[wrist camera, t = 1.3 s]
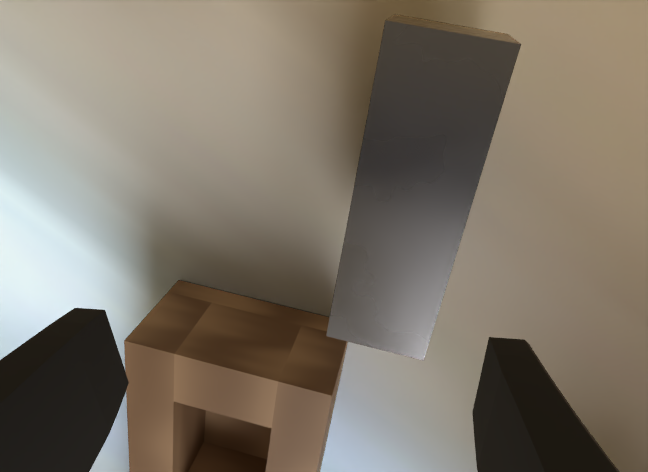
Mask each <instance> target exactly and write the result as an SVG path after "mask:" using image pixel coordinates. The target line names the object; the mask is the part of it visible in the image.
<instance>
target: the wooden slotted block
mask: <svg viewBox="0 0 648 472" xmlns="http://www.w3.org/2000/svg"><path fill="white" fill-rule="evenodd" d="M329 318H330V317H326V316H322V315H318V314H314V313H310V312H306V311H302V310H298V309H294V308H290V307H285V306H281V305H277V304H273V303H269V302H265V301H261V300H257V299H253V298H249V297H245V296H241V295H237V294H233V293H229V292H225V291H221V290H217V289H213V288H209V287H205V286H201V285H197V284H193V283H188V282H184V281H180V280H178V281H177V283H176V284H175V285H174V286H173V287H172V288H171V289H170V290H169V291H168V293H167V294H166V295H165V296H164V297H163V298H162V299H161V300H160V301H159V303H158V304H157V305H156V306H155V307H154V308H153V309H152V310H151V312H150V313H149V314H148V315H147V316H146V317H145V318H144V319H143V320H142V322H141V323H140V324H139V325H138V326H137V327H136V328H135V329H134V330H133V332H132V333H131V334H130V335H129V336H128V337H127V338H126V339H125V340H124V345H125V370H126V376H127V379H128V382H129V384H128V386H127V389H126V394H127V418H128V442H129V467H130V472H320V469H321V465H322V460H323V455H324V451H325V446H326V441H327V437H328V432H329V427H330V423H331V418H332V413H333V408H334V404H335V399H336V394H337V390H338V385H339V380H340V376H341V371H342V366H343V362H344V357H345V352H346V348H347V343H348V341H344V340H340V339H336V338H332V337H328V336H326V334H327V329H328V323H329Z"/></svg>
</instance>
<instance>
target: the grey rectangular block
mask: <svg viewBox="0 0 648 472" xmlns="http://www.w3.org/2000/svg"><path fill="white" fill-rule="evenodd" d="M520 46H521V44H520V43H519V42H517V41H516V40H515V39H514V38H512V37H511V36H510V35H508V34H505V33H499V32H493V31H487V30H482V29H476V28H470V27H465V26H459V25H453V24H447V23H442V22H436V21H430V20H425V19H419V18H413V17H407V16H402V15H396V14H395V15H393V16H391V17H390V18H388V19H387V20H385V25H384V31H383V36H382V41H381V47H380V52H379V57H378V62H377V68H376V73H375V78H374V84H373V89H372V94H371V100H370V105H369V110H368V116H367V121H366V126H365V132H364V137H363V142H362V148H361V153H360V158H359V164H358V169H357V174H356V180H355V185H354V190H353V196H352V201H351V206H350V212H349V217H348V222H347V228H346V233H345V238H344V244H343V249H342V254H341V260H340V265H339V270H338V276H337V281H336V286H335V292H334V297H333V302H332V307H331V313H330V318H329V323H328V329H327V334H326V336H328V337H332V338H336V339H340V340H344V341H348V342H352V343H356V344H360V345H364V346H368V347H372V348H376V349H380V350H384V351H388V352H392V353H395V354H399V355H403V356H407V357H411V358H415V359H419V360H423V361H424V358H425V355H426V352H427V348H428V345H429V342H430V339H431V335H432V332H433V329H434V326H435V322H436V319H437V316H438V313H439V309H440V306H441V303H442V300H443V296H444V293H445V290H446V287H447V283H448V280H449V277H450V274H451V270H452V267H453V264H454V261H455V257H456V254H457V251H458V248H459V244H460V241H461V238H462V235H463V231H464V228H465V225H466V222H467V218H468V215H469V212H470V209H471V205H472V202H473V199H474V196H475V192H476V189H477V186H478V183H479V179H480V176H481V173H482V169H483V166H484V163H485V160H486V156H487V153H488V150H489V147H490V143H491V140H492V137H493V134H494V130H495V127H496V124H497V121H498V117H499V114H500V111H501V108H502V104H503V101H504V98H505V95H506V91H507V88H508V85H509V82H510V78H511V75H512V72H513V69H514V65H515V62H516V59H517V56H518V52H519V49H520Z"/></svg>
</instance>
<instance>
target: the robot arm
mask: <svg viewBox="0 0 648 472" xmlns="http://www.w3.org/2000/svg"><path fill="white" fill-rule="evenodd" d="M128 384H129V382H128V379H127V376H126V373H125V369H124V366H123V363H122V360H121V357H120V354H119V351H118V348H117V345H116V342H115V339H114V336H113V333H112V330H111V327H110V324H109V321H108V318H107V315H106V312H105V310H97V309H83V308H74V309H73V310H71V311H70V312H68V313H67V314H65V315H64V316H62V317H61V318H59V319H58V320H56V321H55V322H53V323H52V324H50V325H49V326H48V327H46V328H45V329H43V330H42V331H41V332H39V333H38V334H36V335H35V336H33V337H32V338H31V339H29V340H28V341H26V342H25V343H24V344H22V345H21V346H19V347H18V348H17V349H15V350H14V351H12V352H11V353H10V354H8V355H7V356H5V357H4V358H3V359H1V360H0V472H89V471H90V469H91V467H92V465H93V463H94V461H95V460H96V458H97V456H98V454H99V452H100V450H101V448H102V446H103V444H104V443H105V441H106V439H107V437H108V435H109V433H110V430H111V428H112V426H113V423H114V421H115V418H116V416H117V413H118V411H119V408H120V405H121V403H122V400H123V397H124V394H125V392H126V389H127V386H128ZM473 424H474V437H475V449H476V461H477V470H478V472H619V471H618V469H617V468H616V467H615V466H614V464H613V463H612V462H611V461H610V459H609V458H608V457H607V455H606V454H605V452H604V451H603V450H602V448H601V447H600V446H599V444H598V443H597V442H596V440H595V439H594V438H593V436H592V435H591V434H590V432H589V431H588V430H587V428H586V427H585V426H584V424H583V423H582V422H581V420H580V419H579V417H578V416H577V415H576V413H575V412H574V410H573V409H572V408H571V406H570V405H569V403H568V402H567V400H566V399H565V398H564V396H563V395H562V393H561V392H560V390H559V389H558V387H557V386H556V384H555V383H554V381H553V380H552V379H551V377H550V376H549V374H548V373H547V371H546V370H545V368H544V366H543V365H542V363H541V362H540V360H539V359H538V357H537V356H536V354H535V353H534V351H533V350H532V348H531V346H530V345H529V344H528V343H527V342H526V341H525V340H520V339H506V338H492V337H489V340H488V345H487V349H486V354H485V358H484V363H483V367H482V372H481V377H480V381H479V386H478V390H477V395H476V399H475V404H474V408H473Z"/></svg>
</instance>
